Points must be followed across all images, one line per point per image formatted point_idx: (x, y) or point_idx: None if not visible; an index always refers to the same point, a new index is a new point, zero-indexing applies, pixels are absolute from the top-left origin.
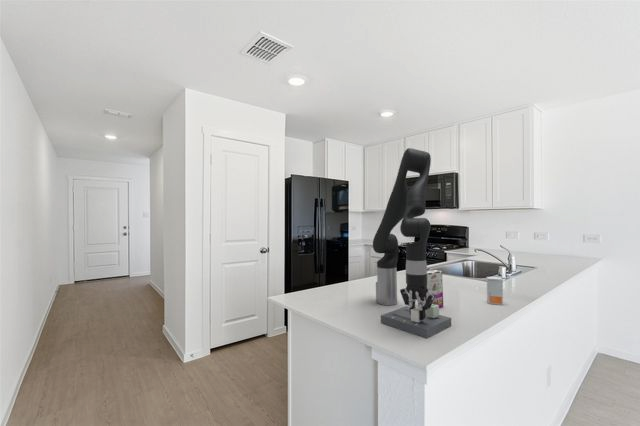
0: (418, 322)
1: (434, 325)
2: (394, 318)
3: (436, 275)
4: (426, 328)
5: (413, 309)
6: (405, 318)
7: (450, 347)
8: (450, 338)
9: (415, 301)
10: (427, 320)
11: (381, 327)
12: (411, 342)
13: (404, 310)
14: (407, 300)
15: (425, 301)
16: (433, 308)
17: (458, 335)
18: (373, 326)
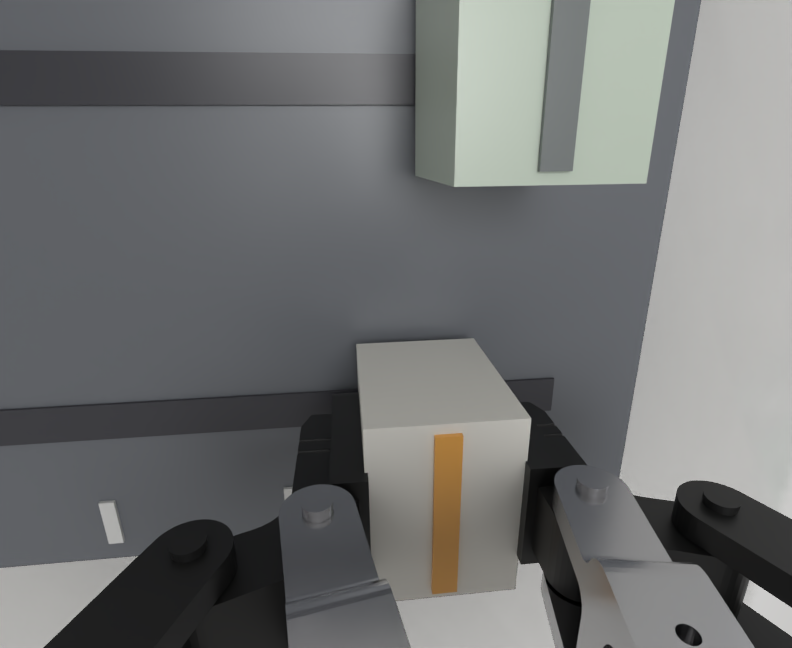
0: None
1: (632, 364)
2: (146, 528)
3: None
4: None
5: (404, 571)
6: (236, 431)
7: (774, 461)
8: (734, 308)
9: (378, 581)
10: (487, 275)
11: (121, 571)
12: (513, 596)
13: None
14: (131, 610)
15: (697, 571)
16: (632, 174)
17: (783, 176)
18: (53, 607)
